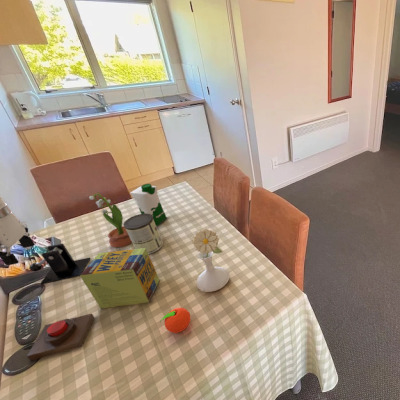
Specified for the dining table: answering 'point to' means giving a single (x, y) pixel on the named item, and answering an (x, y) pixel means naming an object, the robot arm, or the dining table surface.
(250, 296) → the dining table surface
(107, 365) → the dining table surface
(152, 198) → the milk carton
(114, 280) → the protein box
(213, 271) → the flower in vase
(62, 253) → the bracket
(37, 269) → the toast lever
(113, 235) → the potted flower
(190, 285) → the dining table surface
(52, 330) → the button
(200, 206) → the dining table surface
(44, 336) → the button block
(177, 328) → the clementine
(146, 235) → the coffee can
